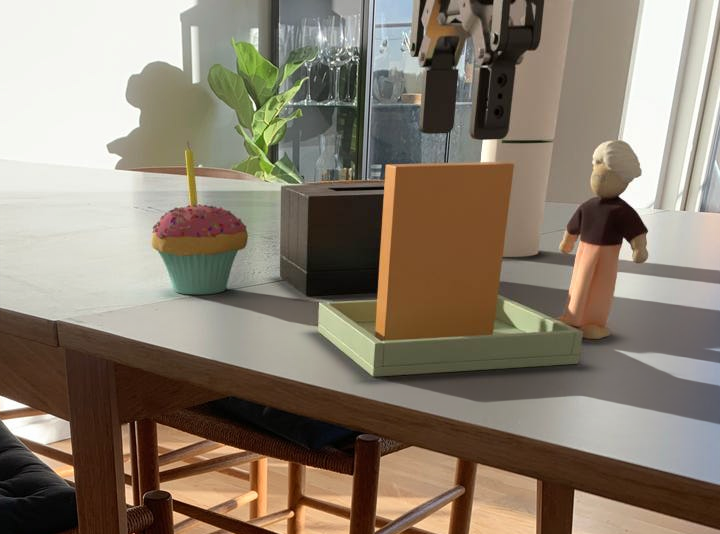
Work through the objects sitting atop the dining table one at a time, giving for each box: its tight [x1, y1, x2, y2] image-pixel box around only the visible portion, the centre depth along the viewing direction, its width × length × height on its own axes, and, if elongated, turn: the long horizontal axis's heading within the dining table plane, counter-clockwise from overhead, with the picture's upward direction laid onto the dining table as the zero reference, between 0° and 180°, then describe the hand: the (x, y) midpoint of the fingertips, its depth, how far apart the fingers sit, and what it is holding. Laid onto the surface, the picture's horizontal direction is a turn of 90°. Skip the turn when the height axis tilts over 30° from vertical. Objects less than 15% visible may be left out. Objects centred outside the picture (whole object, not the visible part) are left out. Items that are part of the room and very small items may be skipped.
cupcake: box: [151, 139, 249, 296], centre depth 83 cm, size 9×8×12 cm
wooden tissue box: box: [279, 182, 385, 297], centre depth 87 cm, size 16×10×8 cm, turn 101°
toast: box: [375, 161, 514, 341], centre depth 64 cm, size 8×2×11 cm, turn 101°
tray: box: [317, 294, 583, 378], centre depth 66 cm, size 14×13×2 cm
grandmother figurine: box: [554, 139, 649, 340], centre depth 67 cm, size 8×4×13 cm, turn 40°
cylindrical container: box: [480, 0, 575, 258], centre depth 97 cm, size 7×7×25 cm
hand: (460, 136), depth 60 cm, fingers open, 8 cm apart
